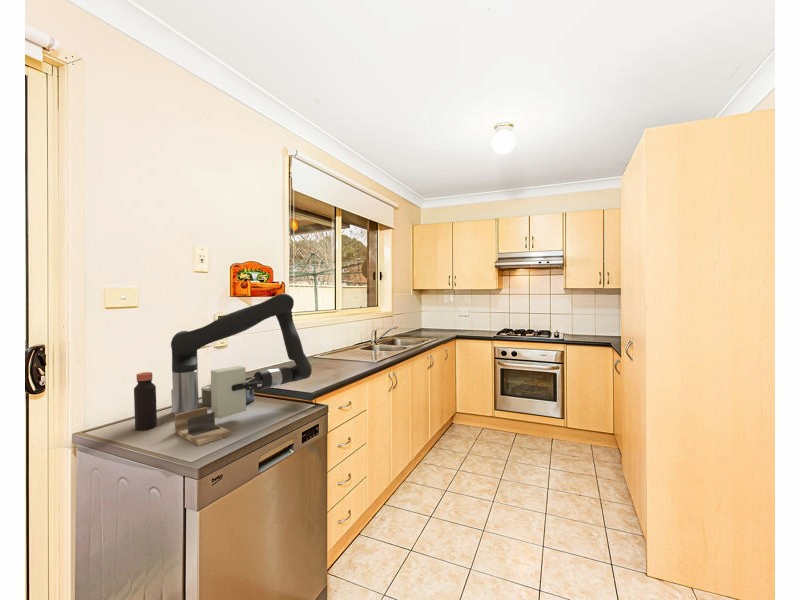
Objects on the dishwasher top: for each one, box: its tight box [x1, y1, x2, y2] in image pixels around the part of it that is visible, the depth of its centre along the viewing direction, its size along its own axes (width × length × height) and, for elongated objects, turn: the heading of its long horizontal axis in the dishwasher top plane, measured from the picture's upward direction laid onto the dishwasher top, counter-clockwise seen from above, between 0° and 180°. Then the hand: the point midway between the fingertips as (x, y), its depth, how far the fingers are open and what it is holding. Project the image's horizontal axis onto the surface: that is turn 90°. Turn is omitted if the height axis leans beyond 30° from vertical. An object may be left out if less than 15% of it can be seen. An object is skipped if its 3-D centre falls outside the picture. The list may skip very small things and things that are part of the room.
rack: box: [174, 406, 232, 446], centre depth 139 cm, size 18×11×6 cm, turn 51°
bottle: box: [133, 371, 158, 431], centre depth 145 cm, size 7×7×20 cm
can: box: [201, 384, 212, 407], centre depth 176 cm, size 12×12×7 cm
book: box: [210, 365, 247, 419], centre depth 151 cm, size 5×11×17 cm, turn 141°
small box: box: [246, 389, 255, 405], centre depth 173 cm, size 11×6×10 cm, turn 168°
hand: (228, 387), depth 151 cm, fingers closed on book, 5 cm apart
